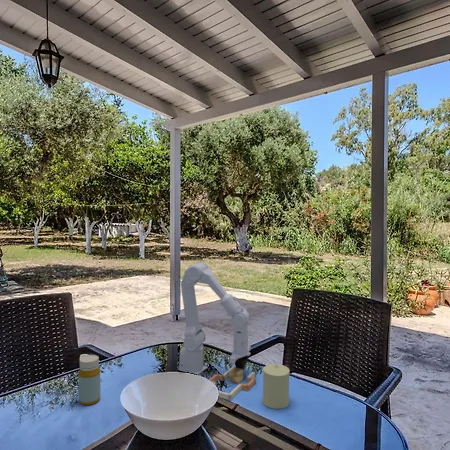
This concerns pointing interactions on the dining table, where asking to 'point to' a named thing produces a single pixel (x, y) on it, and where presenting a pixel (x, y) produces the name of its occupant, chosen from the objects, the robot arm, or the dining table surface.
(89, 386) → the bottle
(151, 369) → the dining table surface
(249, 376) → the cream and orange frame
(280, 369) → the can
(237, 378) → the block
